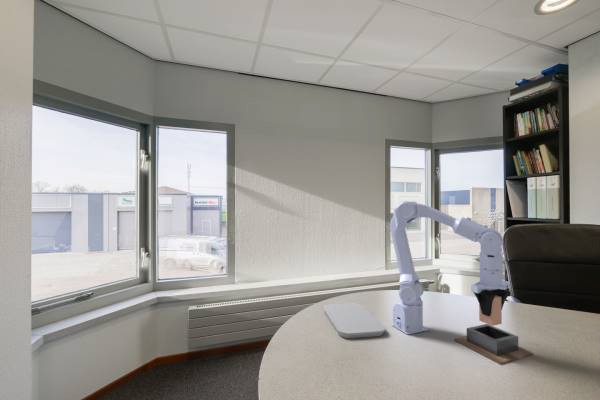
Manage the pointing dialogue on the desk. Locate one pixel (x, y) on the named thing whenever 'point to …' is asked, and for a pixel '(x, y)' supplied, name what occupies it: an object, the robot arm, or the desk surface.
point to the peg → (493, 313)
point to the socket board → (493, 343)
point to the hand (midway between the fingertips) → (491, 314)
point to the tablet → (353, 320)
